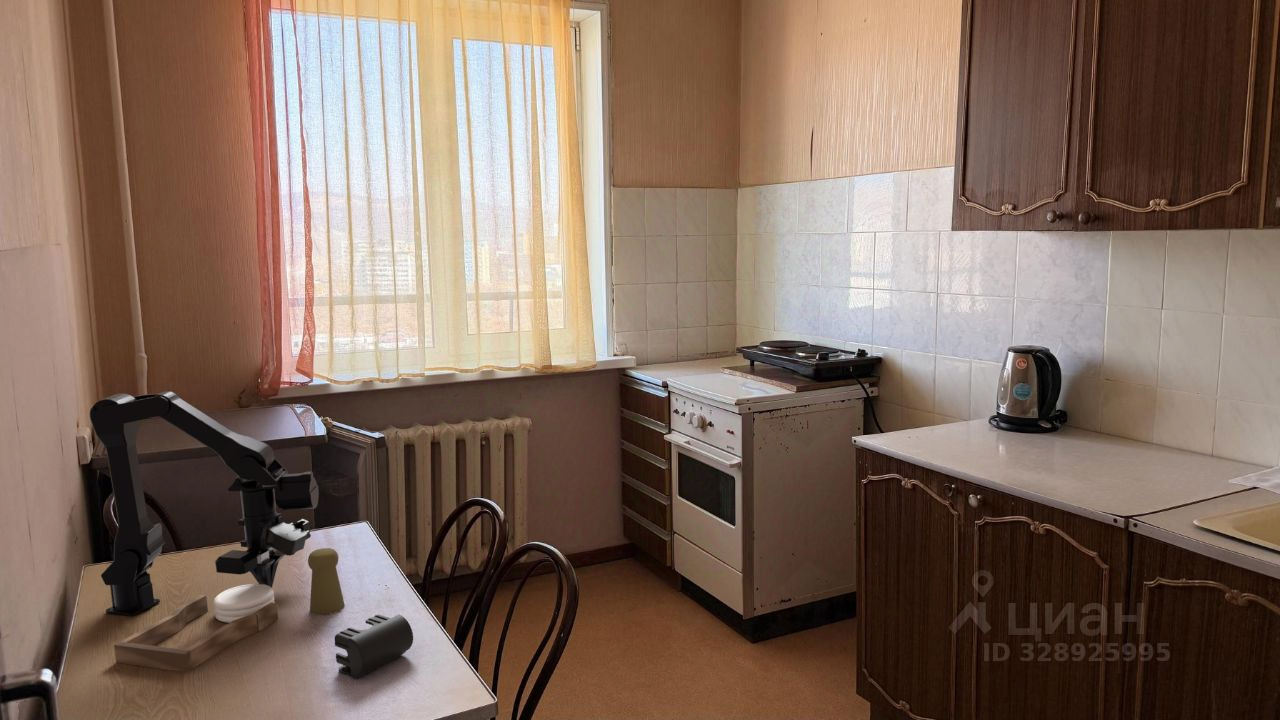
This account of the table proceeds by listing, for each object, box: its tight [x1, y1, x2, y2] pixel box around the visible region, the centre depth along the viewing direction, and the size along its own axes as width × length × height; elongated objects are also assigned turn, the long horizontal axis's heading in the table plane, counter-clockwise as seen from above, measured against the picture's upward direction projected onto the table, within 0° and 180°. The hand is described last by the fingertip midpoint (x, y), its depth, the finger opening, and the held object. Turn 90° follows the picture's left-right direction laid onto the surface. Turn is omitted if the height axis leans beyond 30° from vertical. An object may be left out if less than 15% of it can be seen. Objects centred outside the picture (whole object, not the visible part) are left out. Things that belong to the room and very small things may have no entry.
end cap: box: [334, 614, 414, 679], centre depth 139 cm, size 10×7×7 cm
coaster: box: [213, 583, 276, 624], centre depth 161 cm, size 10×10×4 cm
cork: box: [307, 547, 346, 616], centre depth 161 cm, size 6×6×11 cm
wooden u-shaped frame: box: [113, 594, 279, 673], centre depth 150 cm, size 20×16×3 cm
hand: (267, 591), depth 167 cm, fingers closed
